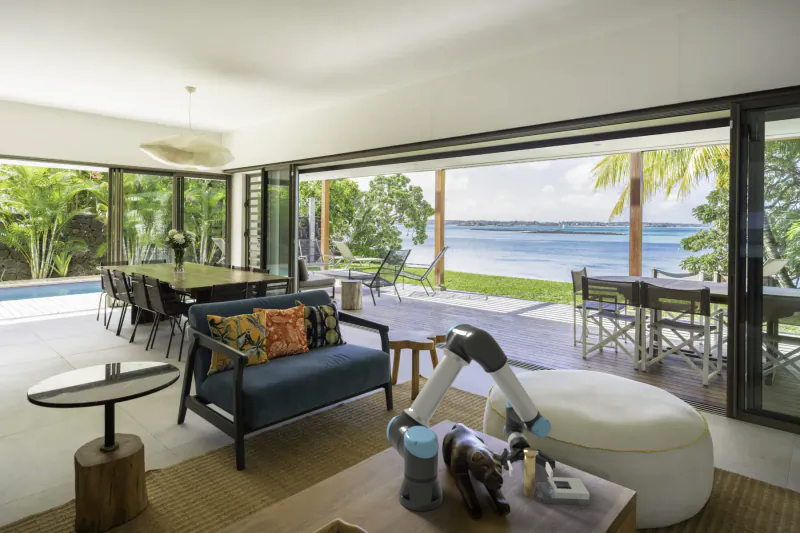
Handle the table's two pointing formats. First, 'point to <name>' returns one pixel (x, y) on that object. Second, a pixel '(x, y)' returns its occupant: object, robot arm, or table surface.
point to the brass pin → (529, 471)
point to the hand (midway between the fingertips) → (531, 474)
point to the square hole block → (563, 491)
